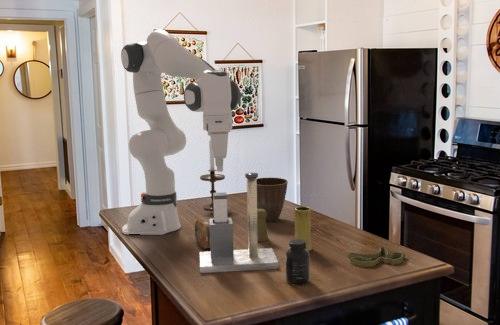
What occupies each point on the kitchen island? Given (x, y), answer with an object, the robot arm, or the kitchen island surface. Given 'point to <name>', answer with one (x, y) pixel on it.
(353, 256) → the cookie cutter
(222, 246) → the stand
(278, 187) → the plant pot
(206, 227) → the tin
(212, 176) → the candlestick
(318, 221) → the kitchen island surface
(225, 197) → the column
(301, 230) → the vase
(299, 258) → the supplement bottle
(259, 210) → the olive waisted cylinder
